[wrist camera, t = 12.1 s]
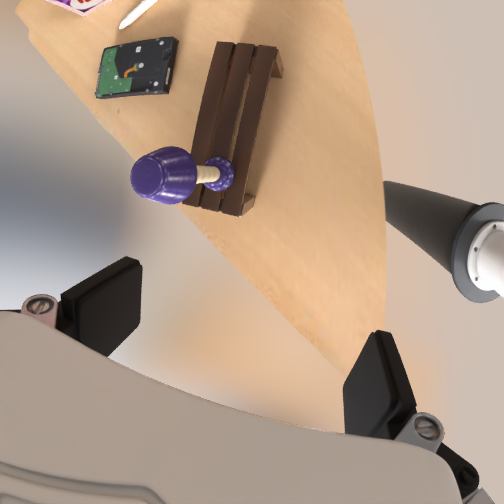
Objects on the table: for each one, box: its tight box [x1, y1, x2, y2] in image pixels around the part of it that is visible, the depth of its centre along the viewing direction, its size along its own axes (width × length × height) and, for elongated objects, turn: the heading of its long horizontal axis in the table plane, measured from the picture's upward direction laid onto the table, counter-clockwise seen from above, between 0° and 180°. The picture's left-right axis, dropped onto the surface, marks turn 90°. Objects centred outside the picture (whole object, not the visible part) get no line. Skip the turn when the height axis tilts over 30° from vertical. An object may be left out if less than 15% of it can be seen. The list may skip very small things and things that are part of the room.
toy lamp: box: [131, 146, 235, 204], centre depth 26 cm, size 5×5×17 cm
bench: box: [182, 42, 284, 217], centre depth 36 cm, size 8×22×9 cm, turn 168°
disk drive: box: [95, 37, 179, 99], centre depth 38 cm, size 10×3×15 cm
